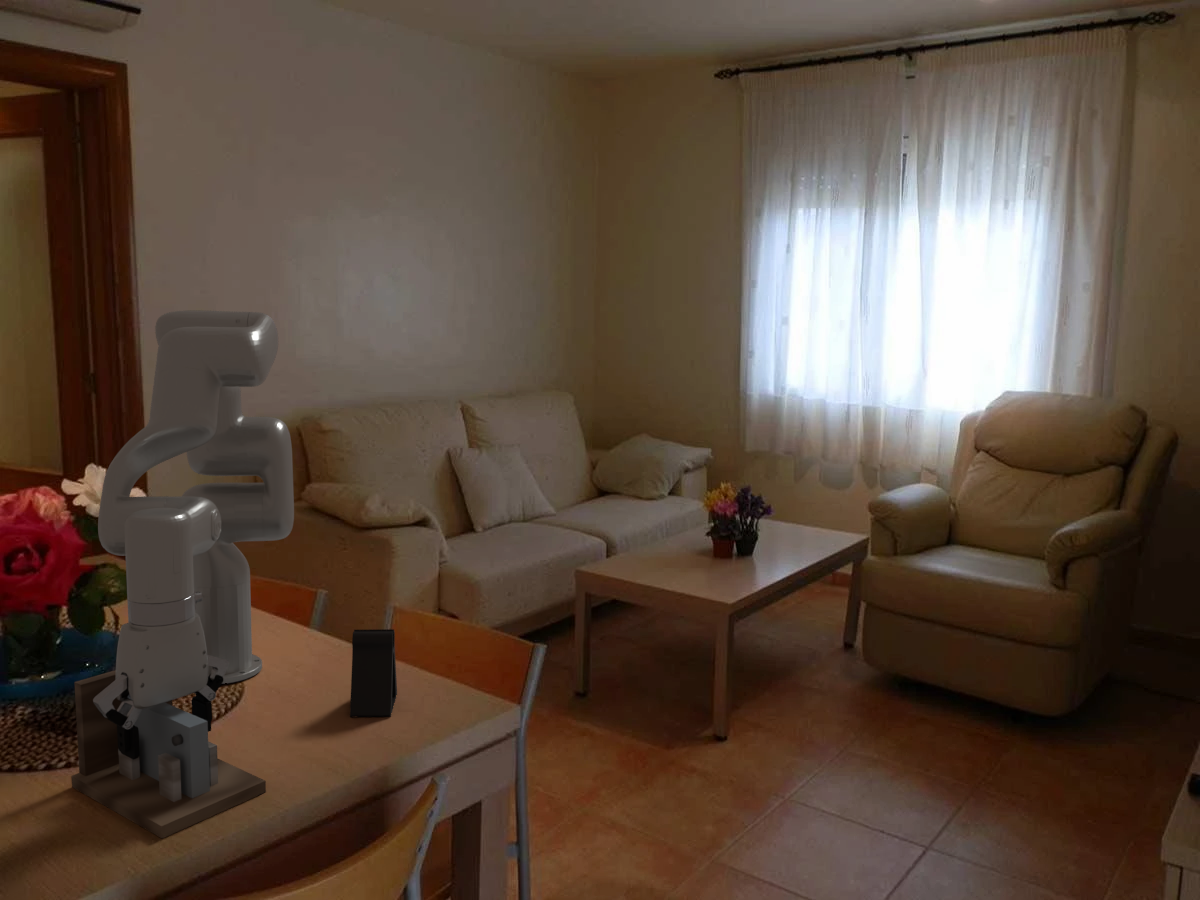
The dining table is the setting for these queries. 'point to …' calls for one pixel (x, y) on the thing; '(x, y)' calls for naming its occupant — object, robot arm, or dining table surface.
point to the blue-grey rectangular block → (175, 745)
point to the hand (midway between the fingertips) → (167, 742)
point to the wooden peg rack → (138, 793)
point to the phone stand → (373, 673)
